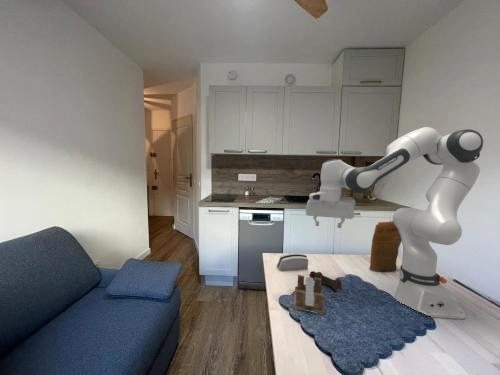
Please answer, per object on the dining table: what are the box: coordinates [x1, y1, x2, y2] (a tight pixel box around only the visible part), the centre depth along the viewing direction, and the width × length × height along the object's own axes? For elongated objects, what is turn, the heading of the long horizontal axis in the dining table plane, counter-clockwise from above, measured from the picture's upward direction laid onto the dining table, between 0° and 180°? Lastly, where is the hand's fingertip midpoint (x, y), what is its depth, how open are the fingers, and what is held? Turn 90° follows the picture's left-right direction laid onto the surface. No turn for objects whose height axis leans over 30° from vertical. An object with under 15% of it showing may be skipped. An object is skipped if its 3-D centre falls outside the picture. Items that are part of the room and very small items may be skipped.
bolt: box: [309, 270, 342, 292], centre depth 104 cm, size 6×5×15 cm
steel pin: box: [305, 276, 314, 306], centre depth 91 cm, size 3×16×3 cm, turn 165°
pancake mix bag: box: [368, 220, 402, 273], centre depth 118 cm, size 7×19×28 cm, turn 97°
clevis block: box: [292, 274, 326, 315], centre depth 91 cm, size 12×15×7 cm
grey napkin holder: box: [276, 252, 309, 271], centre depth 119 cm, size 17×5×10 cm, turn 99°
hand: (328, 226), depth 98 cm, fingers open, 8 cm apart
